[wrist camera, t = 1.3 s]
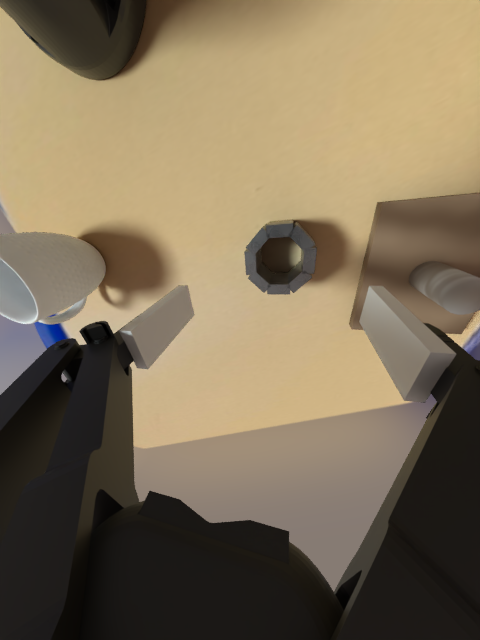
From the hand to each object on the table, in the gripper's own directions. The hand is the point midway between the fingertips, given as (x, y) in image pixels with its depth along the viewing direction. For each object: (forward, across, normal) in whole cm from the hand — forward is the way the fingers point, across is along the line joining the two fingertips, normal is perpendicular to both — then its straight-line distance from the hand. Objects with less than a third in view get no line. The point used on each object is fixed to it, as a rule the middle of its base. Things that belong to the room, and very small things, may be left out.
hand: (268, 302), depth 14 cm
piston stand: (+15, +17, -2) cm, 23 cm away
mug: (+15, -34, -1) cm, 37 cm away
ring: (+15, 0, 0) cm, 15 cm away
